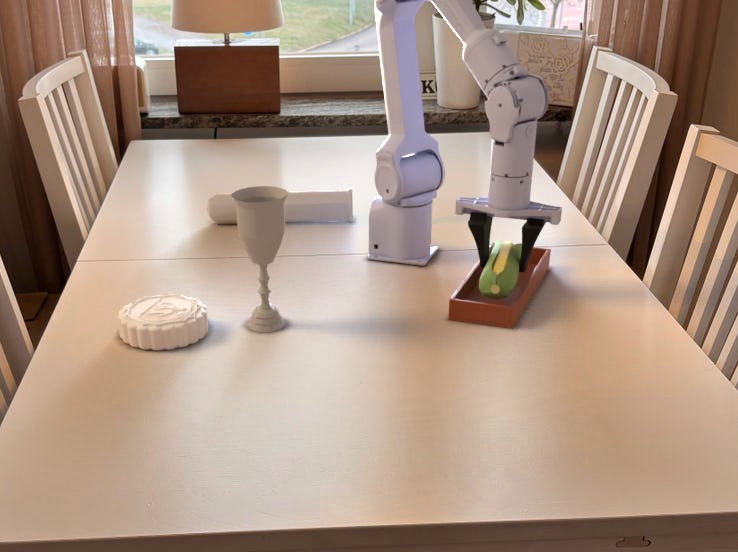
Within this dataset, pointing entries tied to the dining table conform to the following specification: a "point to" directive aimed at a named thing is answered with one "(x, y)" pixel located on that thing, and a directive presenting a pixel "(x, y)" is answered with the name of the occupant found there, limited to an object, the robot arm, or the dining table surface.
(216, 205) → the tube
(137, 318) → the mooncake
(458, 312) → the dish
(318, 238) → the dining table surface
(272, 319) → the chalice
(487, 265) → the edible corn
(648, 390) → the dining table surface
